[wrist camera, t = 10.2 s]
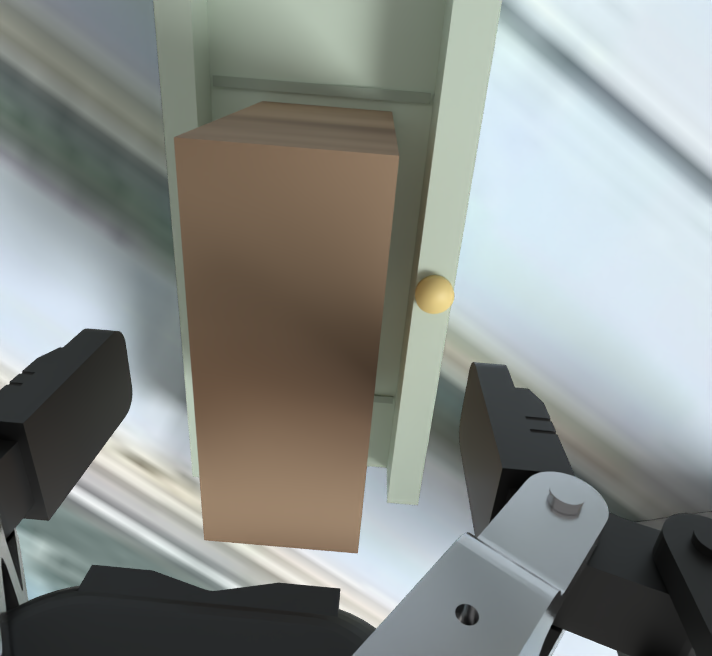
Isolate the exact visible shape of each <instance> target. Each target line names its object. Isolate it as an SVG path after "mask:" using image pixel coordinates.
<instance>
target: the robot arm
mask: <svg viewBox="0 0 712 656" xmlns="http://www.w3.org/2000/svg"><path fill="white" fill-rule="evenodd" d="M131 401H132V384H131V377H130V370H129V363H128V356H127V349H126V343H125V339H124V336H123V334H122V333H121V332H119V331H111V330H99V329H84V330H82V331H81V332H80V333H79V334H78V335H77V336H75V337H74V338H73V339H72V340H71V341H70V342H69V343H68V344H67V345H65V346H64V347H63V348H61V347H60V348H57V349H55V350H53V351H51V352H49V353H47V354H45V355H43V356H41V357H39V358H37V359H36V360H35V361H34V362H32V363H31V364H30V365H29V366H28V367H27V368H25V369H24V370H23V371H22V374H18V375H17V376H16V377H15V378H14V379H13V380H11V381H10V384H9V385H6V386H4V387H3V388H2V389H1V390H0V656H552V654H553V653H554V651H555V649H556V647H557V645H558V644H559V642H560V640H561V638H562V636H563V634H564V633H565V631H566V630H567V631H569V632H572V633H574V634H577V635H579V636H582V637H584V638H587V639H589V640H592V641H594V642H597V643H599V644H602V645H604V646H607V647H609V648H612V649H614V650H617V653H618V656H712V519H710V518H708V517H704V516H701V515H696V514H688V513H682V514H676V515H672V516H671V517H669V518H668V519H667V520H665V522H664V524H663V526H662V529H661V531H660V530H657V529H654V528H651V527H648V526H645V525H642V524H639V523H636V522H633V521H629V520H626V519H624V518H621V517H618V516H616V515H614V514H612V513H610V512H609V511H608V506H607V504H606V502H605V500H604V499H603V497H602V496H601V495H600V494H599V492H598V491H596V490H595V489H594V488H593V487H592V486H590V485H589V484H588V483H586V482H584V481H582V480H581V479H578V478H576V477H575V475H574V472H573V470H572V468H571V465H570V463H569V461H568V458H567V456H566V454H565V451H564V449H563V447H562V444H561V442H560V440H559V437H558V435H556V431H555V428H554V426H553V424H552V422H551V421H550V417H549V414H548V412H547V410H546V407H545V405H544V403H543V402H542V401H541V400H540V399H539V398H538V397H537V396H536V395H535V394H534V393H532V392H531V391H530V390H529V389H526V388H515V387H514V384H513V382H512V379H511V376H510V373H509V371H508V368H507V366H506V365H499V364H488V363H476V362H473V363H472V364H471V367H470V370H469V376H468V381H467V386H466V392H465V397H464V403H463V408H462V413H461V419H460V428H459V443H460V450H461V456H462V462H463V468H464V474H465V480H466V485H467V491H468V497H469V503H470V509H471V515H472V521H473V527H474V533H475V536H474V535H472V534H470V533H468V532H467V533H464V534H463V535H461V536H460V537H459V538H458V539H457V540H456V541H455V542H454V543H453V545H452V546H451V547H450V548H449V549H448V550H447V551H446V552H445V553H444V555H443V556H442V557H441V558H440V559H439V560H438V561H437V562H436V563H435V564H434V566H433V567H432V568H431V569H430V570H429V571H428V572H427V573H426V574H425V576H424V577H423V578H422V579H421V580H420V581H419V582H418V583H417V584H416V585H415V587H414V588H413V589H412V590H411V591H410V592H409V593H408V594H407V595H406V597H405V598H404V599H403V600H402V601H401V602H400V603H399V604H398V605H397V606H396V608H395V609H394V610H393V611H392V612H391V613H390V614H389V615H388V616H387V618H386V619H385V620H384V621H383V622H382V623H381V624H380V625H379V626H378V627H377V629H376V628H375V627H373V626H372V625H370V624H369V623H367V622H366V621H364V620H362V619H360V618H358V617H356V616H355V615H353V614H351V613H348V612H345V611H343V610H340V609H339V600H340V589H339V588H328V587H318V586H308V585H297V584H287V583H273V584H265V585H258V586H250V587H243V588H235V589H227V590H220V591H208V590H205V589H202V588H199V587H196V586H193V585H191V584H188V583H185V582H183V581H180V580H177V579H174V578H172V577H169V576H166V575H163V574H161V573H158V572H155V571H152V570H142V569H131V568H121V567H110V566H100V565H92V566H91V568H90V569H89V571H88V573H87V574H86V576H85V578H84V580H83V581H82V583H81V585H80V586H75V587H70V588H65V589H61V590H57V591H54V592H51V593H48V594H45V595H41V596H39V597H36V598H34V599H32V600H29V601H28V595H27V589H26V582H25V576H24V569H23V563H22V557H21V550H20V544H19V538H18V535H17V531H16V527H17V525H18V524H19V523H20V521H21V520H22V519H23V518H26V519H36V520H47V521H49V520H50V519H51V517H52V516H53V514H54V513H55V512H56V510H57V509H58V508H59V506H60V505H61V504H62V502H63V501H64V499H65V498H66V497H67V495H68V494H69V493H70V491H71V490H72V489H73V487H74V486H75V485H76V483H77V482H78V480H79V479H80V478H81V476H82V475H83V474H84V472H85V471H86V470H87V468H88V467H89V465H90V464H91V463H92V461H93V460H94V459H95V457H96V456H97V455H98V453H99V452H100V450H101V449H102V448H103V446H104V445H105V444H106V442H107V441H108V440H109V438H110V437H111V436H112V434H113V433H114V431H115V430H116V429H117V427H118V426H119V425H120V423H121V422H122V421H123V419H124V418H125V416H126V415H127V413H128V411H129V409H130V405H131Z"/></svg>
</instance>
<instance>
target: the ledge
mask: <svg viewBox="0 0 712 656" xmlns="http://www.w3.org/2000/svg"><path fill="white" fill-rule="evenodd" d="M501 3H502V0H153V5H154V17H155V29H156V41H157V53H158V65H159V77H160V89H161V101H162V113H163V125H164V137H165V149H166V161H167V173H168V185H169V197H170V209H171V221H172V234H173V246H174V258H175V270H176V282H177V294H178V306H179V318H180V330H181V342H182V354H183V366H184V378H185V390H186V402H187V414H188V426H189V438H190V450H191V462H192V474H193V477H199V464H198V450H197V437H196V424H195V411H194V398H193V385H192V372H191V359H190V345H189V332H188V319H187V306H186V293H185V280H184V267H183V254H182V241H181V227H180V214H179V201H178V188H177V175H176V162H175V149H174V137H175V136H178V135H180V134H183V133H185V132H188V131H190V130H193V129H195V128H197V127H200V126H202V125H205V124H207V123H210V122H212V121H215V120H217V119H220V118H222V117H224V116H227V115H229V114H232V113H234V112H237V111H239V110H242V109H244V108H247V107H249V106H251V105H254V104H256V103H259V102H261V101H268V102H281V103H293V104H305V105H317V106H330V107H342V108H354V109H366V110H379V111H391V112H392V114H393V120H394V126H395V132H396V139H397V145H398V151H399V164H398V173H397V183H396V192H395V202H394V212H393V221H392V231H391V240H390V250H389V259H388V269H387V278H386V288H385V297H384V307H383V317H382V326H381V336H380V345H379V355H378V364H377V374H376V383H375V393H374V402H373V412H372V422H371V431H370V441H369V450H368V460H367V466H371V467H383V468H387V503H398V504H409V505H418V501H419V495H420V489H421V483H422V477H423V471H424V465H425V459H426V453H427V447H428V441H429V435H430V429H431V423H432V417H433V411H434V405H435V399H436V393H437V387H438V381H439V375H440V369H441V363H442V357H443V351H444V345H445V339H446V333H447V327H448V321H449V315H450V309H451V305H452V303H453V300H454V285H455V279H456V273H457V267H458V261H459V255H460V249H461V243H462V237H463V231H464V225H465V219H466V213H467V207H468V201H469V195H470V189H471V183H472V177H473V171H474V165H475V159H476V153H477V147H478V141H479V135H480V129H481V123H482V117H483V111H484V105H485V99H486V93H487V87H488V81H489V75H490V69H491V63H492V57H493V51H494V45H495V39H496V33H497V27H498V21H499V15H500V9H501Z"/></svg>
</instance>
